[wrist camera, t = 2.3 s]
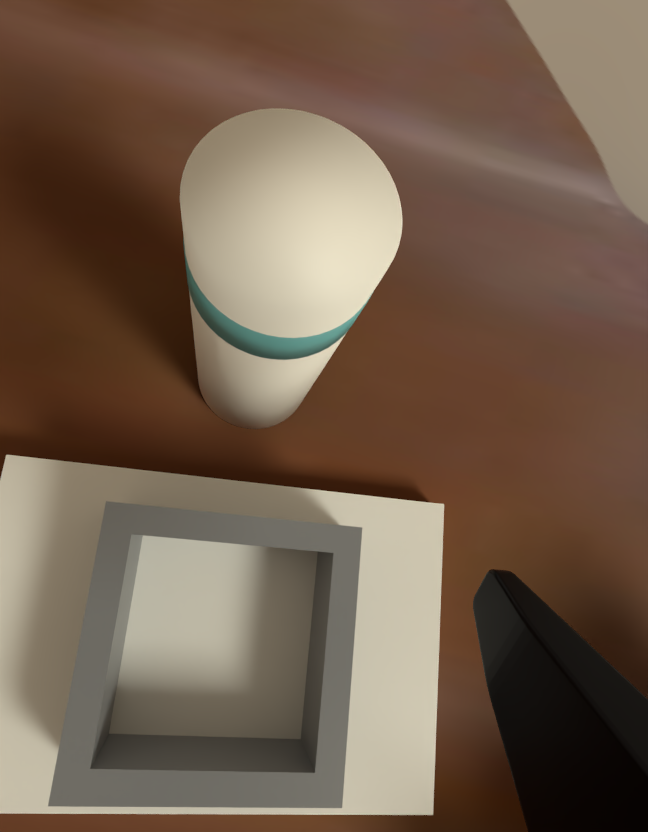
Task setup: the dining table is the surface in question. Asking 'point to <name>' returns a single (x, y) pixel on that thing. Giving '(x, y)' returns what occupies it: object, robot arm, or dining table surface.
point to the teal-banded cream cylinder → (280, 255)
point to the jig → (214, 645)
